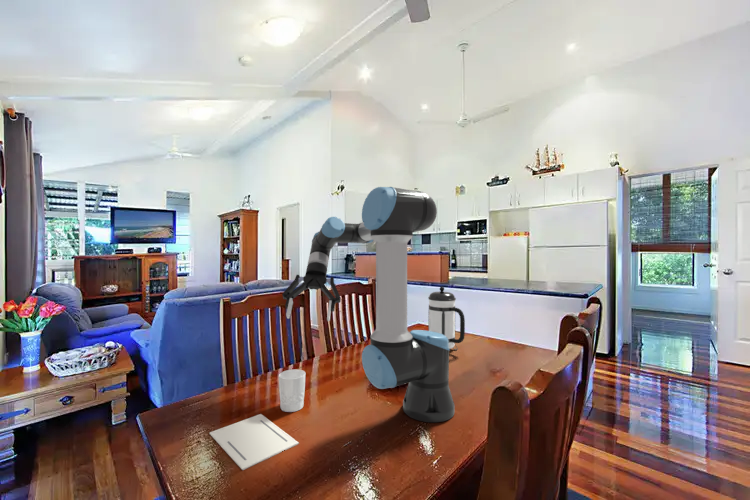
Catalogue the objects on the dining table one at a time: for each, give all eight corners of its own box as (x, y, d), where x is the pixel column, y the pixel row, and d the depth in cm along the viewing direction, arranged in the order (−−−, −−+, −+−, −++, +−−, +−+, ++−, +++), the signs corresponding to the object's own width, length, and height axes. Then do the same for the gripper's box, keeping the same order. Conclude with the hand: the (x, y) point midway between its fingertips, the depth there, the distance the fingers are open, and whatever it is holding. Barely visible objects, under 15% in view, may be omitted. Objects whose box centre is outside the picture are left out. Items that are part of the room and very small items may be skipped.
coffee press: (425, 354, 153) (425, 288, 153) (426, 344, 169) (426, 284, 168) (464, 356, 150) (465, 289, 150) (461, 346, 166) (461, 285, 166)
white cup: (296, 398, 107) (296, 367, 107) (310, 407, 101) (310, 374, 101) (273, 406, 101) (273, 373, 101) (287, 416, 96) (287, 381, 96)
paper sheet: (298, 443, 82) (298, 442, 82) (242, 470, 72) (242, 468, 72) (260, 414, 96) (260, 413, 96) (209, 433, 86) (209, 432, 86)
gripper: (350, 274, 129) (345, 325, 116) (285, 270, 129) (272, 320, 115) (350, 263, 123) (345, 314, 110) (282, 258, 123) (268, 310, 109)
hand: (308, 318), depth 112 cm, fingers open, 13 cm apart
